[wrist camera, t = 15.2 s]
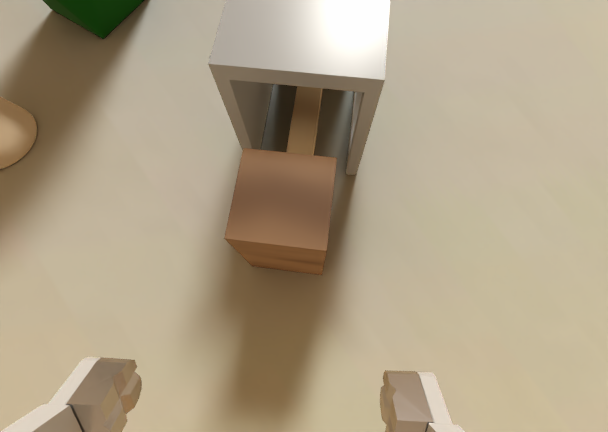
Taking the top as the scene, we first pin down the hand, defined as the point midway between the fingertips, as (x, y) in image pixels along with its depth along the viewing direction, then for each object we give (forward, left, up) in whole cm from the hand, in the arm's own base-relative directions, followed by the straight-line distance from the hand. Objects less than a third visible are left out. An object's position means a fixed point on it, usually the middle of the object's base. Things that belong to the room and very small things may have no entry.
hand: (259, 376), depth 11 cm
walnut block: (+3, -7, -12) cm, 14 cm away
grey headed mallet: (+9, -24, -12) cm, 28 cm away
